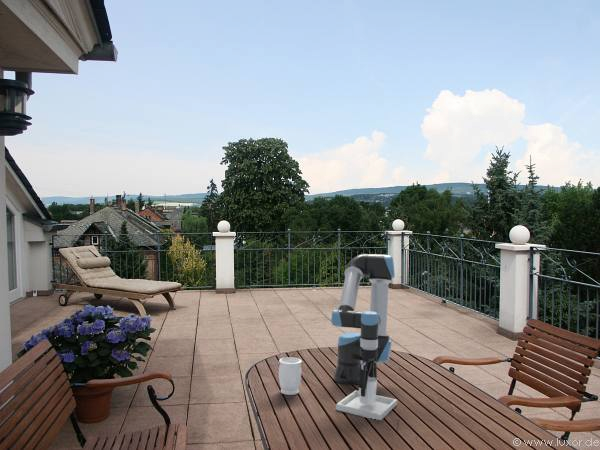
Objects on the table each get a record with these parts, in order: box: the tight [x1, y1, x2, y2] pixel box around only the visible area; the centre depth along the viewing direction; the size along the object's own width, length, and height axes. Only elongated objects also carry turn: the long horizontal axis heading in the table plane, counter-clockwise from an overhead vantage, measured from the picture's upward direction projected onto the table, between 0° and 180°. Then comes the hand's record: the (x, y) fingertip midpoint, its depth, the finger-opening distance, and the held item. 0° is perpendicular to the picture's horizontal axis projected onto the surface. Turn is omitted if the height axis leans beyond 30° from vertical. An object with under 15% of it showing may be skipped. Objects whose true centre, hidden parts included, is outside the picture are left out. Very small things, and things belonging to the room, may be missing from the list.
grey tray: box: [335, 389, 398, 422], centre depth 205 cm, size 20×20×2 cm
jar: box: [278, 356, 302, 396], centre depth 221 cm, size 11×10×15 cm
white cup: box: [358, 376, 378, 405], centre depth 205 cm, size 8×8×10 cm
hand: (367, 400), depth 205 cm, fingers closed on white cup, 8 cm apart
